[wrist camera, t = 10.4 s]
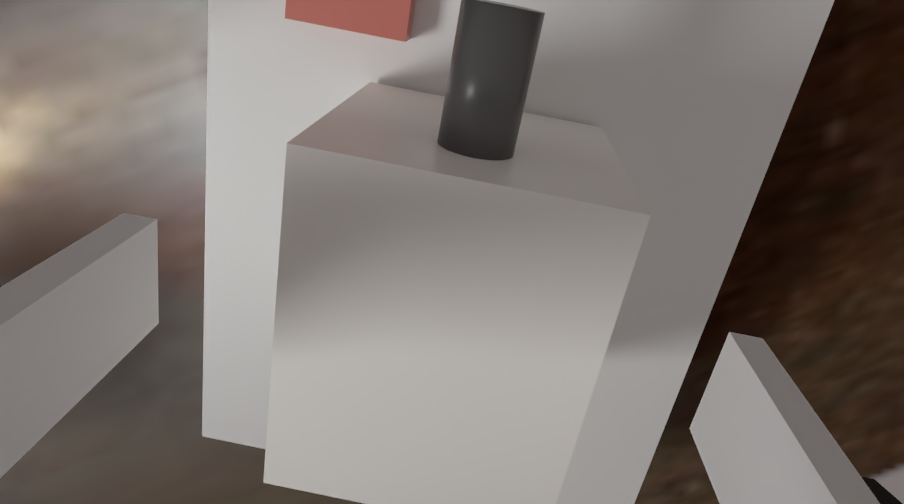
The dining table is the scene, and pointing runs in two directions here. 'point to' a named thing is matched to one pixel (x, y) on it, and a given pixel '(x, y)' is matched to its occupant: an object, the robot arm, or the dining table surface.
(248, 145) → the socket
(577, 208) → the plug
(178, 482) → the dining table surface
